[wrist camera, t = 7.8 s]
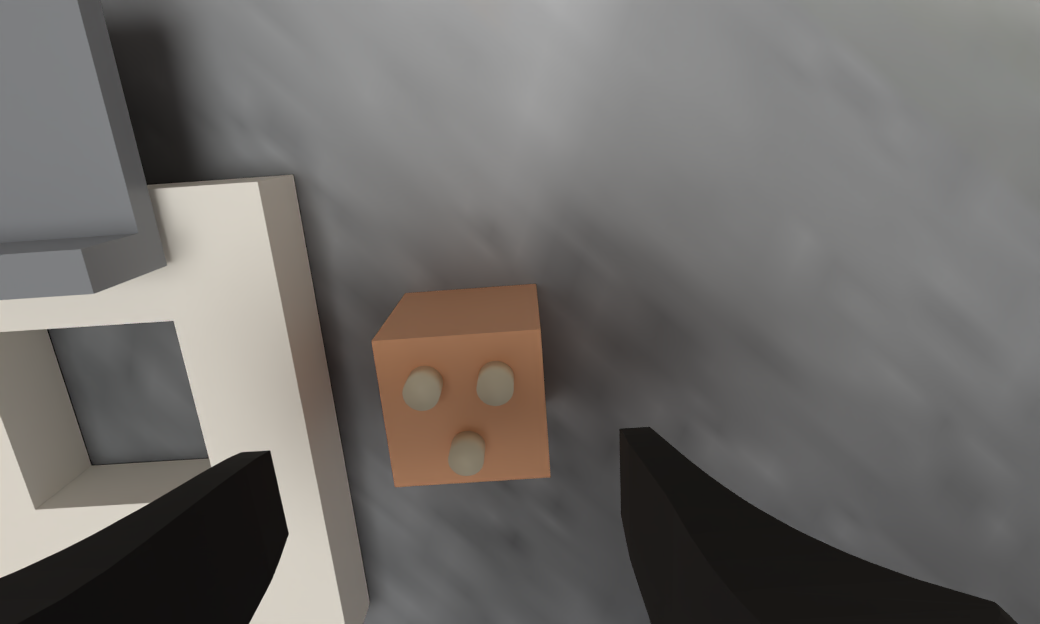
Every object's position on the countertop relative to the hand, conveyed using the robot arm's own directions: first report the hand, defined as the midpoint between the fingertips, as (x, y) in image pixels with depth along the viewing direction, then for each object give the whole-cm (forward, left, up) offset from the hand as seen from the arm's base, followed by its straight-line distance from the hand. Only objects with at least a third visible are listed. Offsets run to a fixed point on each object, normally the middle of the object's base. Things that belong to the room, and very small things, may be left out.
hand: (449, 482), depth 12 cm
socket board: (-2, +11, -8) cm, 14 cm away
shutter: (+7, +11, -5) cm, 14 cm away
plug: (0, 0, -8) cm, 8 cm away
